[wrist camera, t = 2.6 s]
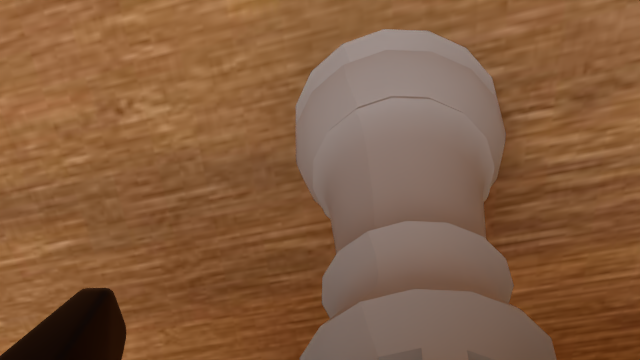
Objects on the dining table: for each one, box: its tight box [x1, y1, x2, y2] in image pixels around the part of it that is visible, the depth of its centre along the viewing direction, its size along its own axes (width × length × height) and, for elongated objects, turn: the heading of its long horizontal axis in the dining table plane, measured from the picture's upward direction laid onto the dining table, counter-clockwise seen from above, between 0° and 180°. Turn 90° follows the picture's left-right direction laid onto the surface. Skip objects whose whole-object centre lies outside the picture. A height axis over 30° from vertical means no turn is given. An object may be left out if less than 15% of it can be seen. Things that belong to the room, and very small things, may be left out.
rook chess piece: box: [296, 29, 557, 360], centre depth 10 cm, size 4×4×8 cm
